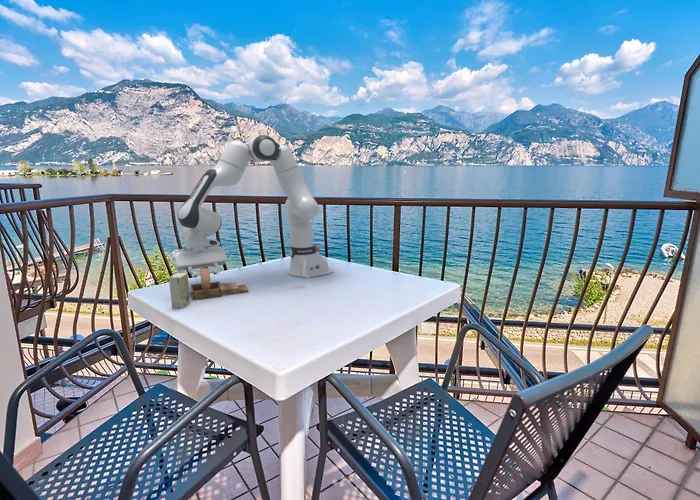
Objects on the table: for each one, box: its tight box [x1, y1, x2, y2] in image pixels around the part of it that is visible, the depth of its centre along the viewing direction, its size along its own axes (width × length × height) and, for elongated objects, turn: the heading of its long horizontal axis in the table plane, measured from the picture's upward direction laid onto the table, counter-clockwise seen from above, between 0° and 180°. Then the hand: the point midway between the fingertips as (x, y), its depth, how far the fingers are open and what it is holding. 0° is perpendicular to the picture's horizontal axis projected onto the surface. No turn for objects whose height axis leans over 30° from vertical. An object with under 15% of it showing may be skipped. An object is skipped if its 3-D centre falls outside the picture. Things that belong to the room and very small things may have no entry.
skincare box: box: [168, 272, 191, 309], centre depth 133 cm, size 6×4×12 cm
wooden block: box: [199, 267, 211, 290], centre depth 145 cm, size 4×4×10 cm
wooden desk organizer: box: [190, 281, 250, 301], centre depth 148 cm, size 22×10×4 cm, turn 115°
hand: (205, 275), depth 144 cm, fingers open, 7 cm apart
